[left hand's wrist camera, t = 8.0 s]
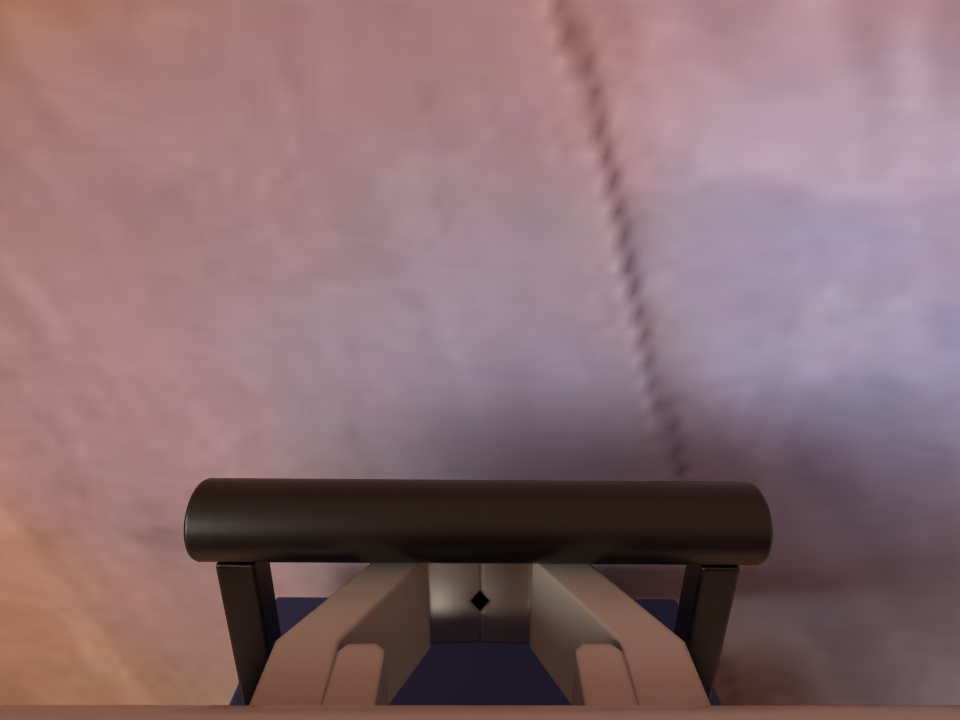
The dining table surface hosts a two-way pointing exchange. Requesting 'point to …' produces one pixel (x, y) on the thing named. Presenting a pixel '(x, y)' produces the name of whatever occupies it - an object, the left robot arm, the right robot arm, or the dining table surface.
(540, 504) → the drawer
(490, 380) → the dining table surface
